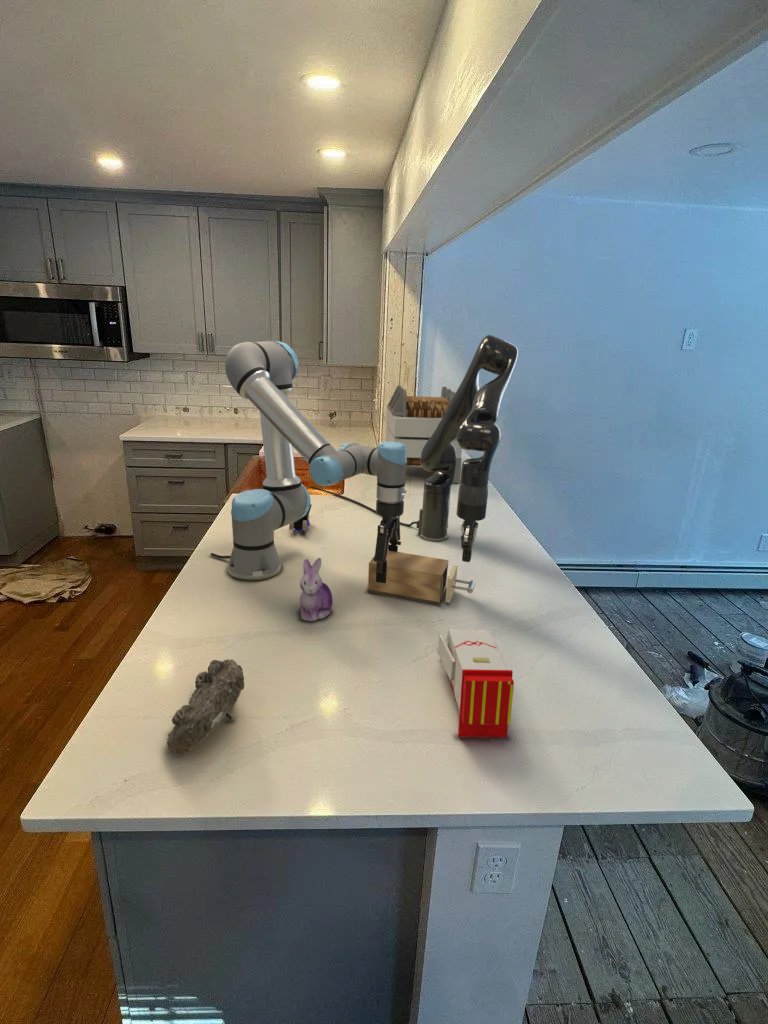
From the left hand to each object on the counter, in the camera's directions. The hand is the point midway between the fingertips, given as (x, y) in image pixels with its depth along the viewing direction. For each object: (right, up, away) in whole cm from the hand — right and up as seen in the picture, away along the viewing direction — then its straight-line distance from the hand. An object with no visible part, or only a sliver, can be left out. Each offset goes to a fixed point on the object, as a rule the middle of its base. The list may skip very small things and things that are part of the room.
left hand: (386, 573), depth 160 cm
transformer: (+16, +36, +115) cm, 121 cm away
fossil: (-34, -22, -52) cm, 66 cm away
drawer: (+12, -5, -2) cm, 13 cm away
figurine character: (-30, +11, +39) cm, 51 cm away
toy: (+17, -20, -42) cm, 49 cm away
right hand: (+21, +4, -8) cm, 23 cm away
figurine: (-18, -9, -14) cm, 25 cm away
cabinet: (+6, -5, 0) cm, 7 cm away
